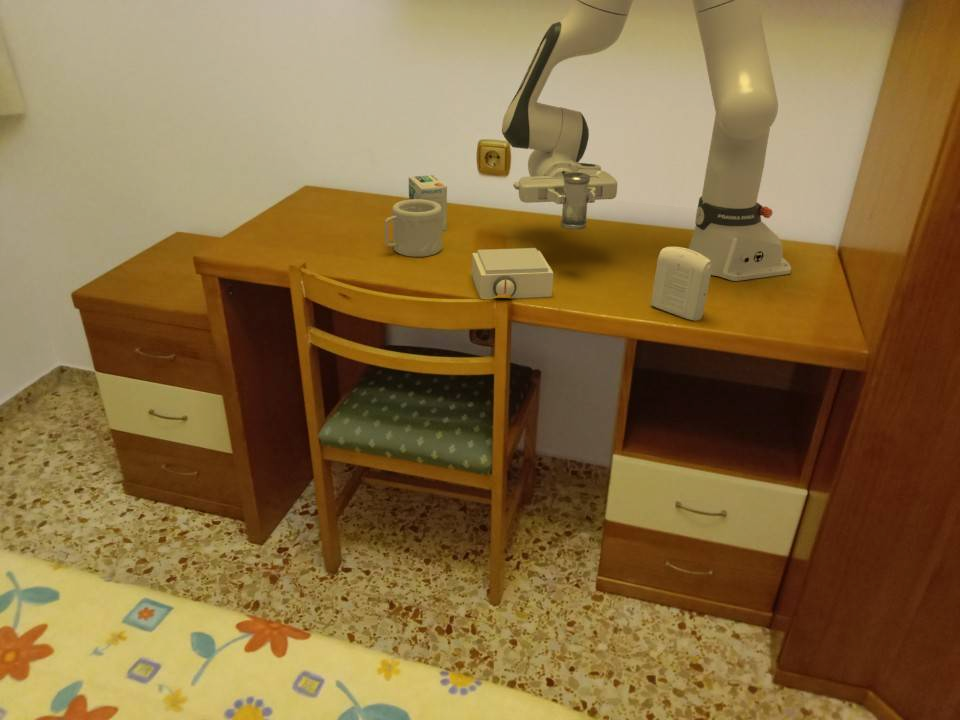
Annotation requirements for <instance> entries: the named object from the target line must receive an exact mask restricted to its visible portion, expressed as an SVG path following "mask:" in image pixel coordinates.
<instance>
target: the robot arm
mask: <svg viewBox="0 0 960 720" xmlns="http://www.w3.org/2000/svg"><path fill="white" fill-rule="evenodd" d="M633 1H634V0H573V3H572V5H571V7H570V8H569V10H568V11H567V13H566V14H565V16H564V17H563V18H561V20H560V21H557V22H555V23H552V24H551V25H550V26H549V27H548V29H547V30H546V32H545V34H544V35H543V37H542V39H541V40H540V43H539V45H538V47H537V49H536V51H535V53H534V55H533V58H532V60H531V62H530V63H529V65H528V69H526V72H525V74H524V77H523V79H522V81H521V83H520V85H519V87H518V89H517V91H516V94H515V95H514V97H513V99H511V102H510V104H509V106H508V107H507V109H506V111H505V112H504V113H505V114H504V116H503V119H502V124H501V133H502V135H503V137H504V138H505V139H504V140H506V142H507V143H508V144H509V145H510V146H511V147H512V148H515V149H524V150H528V149H529V150H533V151H532V152H531V153H530V155H529V157H528V160H527V167H528V168H527V170H528V173H529V176H523V177H520V178H519V180H518V182H513V185H512V186H513V188H514V189H515V190H517V191H518V197H519V200H520V201H521V202H523V203H526V204H530V203H532V204H534V203H548V202H549V203H555V204H556V205H563V204H564V203H565V201H564V199H565V195H564V194H563V193H564V180H563V175H564V174H567V173H585V174H588V175H590V181H589V186H588V200H587V204H590V203H591V204H593V203H595V202H596V200H600V201H601V200H613V199H615V198H616V197H617V195H618V194H617V193H618V181H617V179H616V178H615V177H614V176H612V175H611V174H610V173H608V172H607V171H604V170H602V167H601V166H600V164H596V163H587V162H586V163H585V162H580V161H581V160H582V158H583V157H584V154H585V152H586V151H587V148H588V147H587V146H588V142H589V138H590V137H589V136H590V135H589V134H590V131H589V126H588V123H587V120H586V118H585V116H584V115H583V113H582V112H581V111H578V110H574V109H569V108H565V107H561V106H560V107H559V106H553V105H549V104H546V103H541V102H538V100H539V98H540V96H541V94H542V91H543V90H544V87H545V85H546V83H547V82H548V79H549V77H550V75H551V73H552V72H553V69H555V67H556V66H557V65H558V64H560V63H561V62H563V61H565V60H569V59H572V58H577V57H581V56H588V55H594V54H598V53H600V52H602V51H605V50H607V49H608V48H610V47H611V46H613V45H614V44H615V43H616V42H617V41H618V40H619V38H620V36H621V34H622V32H623V30H624V28H625V24H626V22H627V19H628V17H629V13H630V10H631V8H632V7H631V6H632V4H633ZM692 3H693V10H694V12H695V13H694V14H695V18H696V22H697V26H698V32H699V36H700V40H701V45H702V49H703V53H704V58H705V65H706V70H707V74H708V79H709V85H710V90H711V95H712V100H713V106H714V111H715V114H714V115H715V116H714V122H713V126H712V134H711V140H710V146H709V150H708V158H707V162H706V163H707V164H706V168H705V169H706V170H705V175H704V180H703V187H702V193H701V196H700V197H699V198H698V199H699V200H698V203H697V209H696V213H695V225H694V230H693V234H692V238H691V240H690V244H689V246H688V248H687V249H690V250H693V251H695V252H698V253H700V254H702V255H703V256H705V257H706V258H708V259H709V260H710V261H711V262H712V271H711V276H716V277H720V278H722V279H725V280H729V281H734V282H739V281H744V280H745V281H746V280H752V279H753V280H754V279H760V278H761V279H762V278H767V277H777V276H783V275H785V276H786V275H789V274H791V271H792V265H791V264H790V263H789V262H788V261H787V260H786V259H785V257H783V251H784V250H783V243H782V240H781V239H780V238H779V236H777V235H776V233H774V232H773V231H772V230H771V229H770V227H768V226H767V225H766V224H765V223H764V222H763V220H762V217H764V218H765V219H769V218H771V217H772V216H773V214H774V213H773V210H772V208H769V207H768V206H763V205H761V204H760V203H759V202H757V201H758V197H759V192H760V187H761V182H762V177H763V172H764V167H765V162H766V155H767V154H766V153H767V147H768V142H769V141H768V140H769V136H770V132H771V131H770V130H771V127H772V126H773V124H774V123H775V121H776V118H777V115H778V110H779V103H778V97H777V91H776V87H775V81H774V77H773V72H772V66H771V62H770V61H771V60H770V57H769V52H768V46H767V42H766V41H767V40H766V37H765V31H764V30H765V29H764V26H763V22H762V17H761V12H760V5H759V1H758V0H692ZM761 216H762V217H761Z"/></svg>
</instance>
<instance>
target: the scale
mask: <svg viewBox="0 0 960 720" xmlns="http://www.w3.org/2000/svg"><path fill="white" fill-rule="evenodd" d="M471 277H472V281H473V283H474V285H475V289H476V291H477V293H478V296H479V299H480V298H493V297H495V296H497V295H507V294H509V295H511V297H512V298H511V299H526V298H527V299H529V298H530V299H531V298H551V297H552V296H553V287H554V286H553V285H554V272H553V269H552V268H551V266H550V265H549V263H548V262H547V260H546V258H545V257H544V255H543V254H542V252H541V251H540V250H538V249H537V248H536V247H526V248H525V247H523V248H497V249H495V248H494V249H477V252H472V254H471Z"/></svg>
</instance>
